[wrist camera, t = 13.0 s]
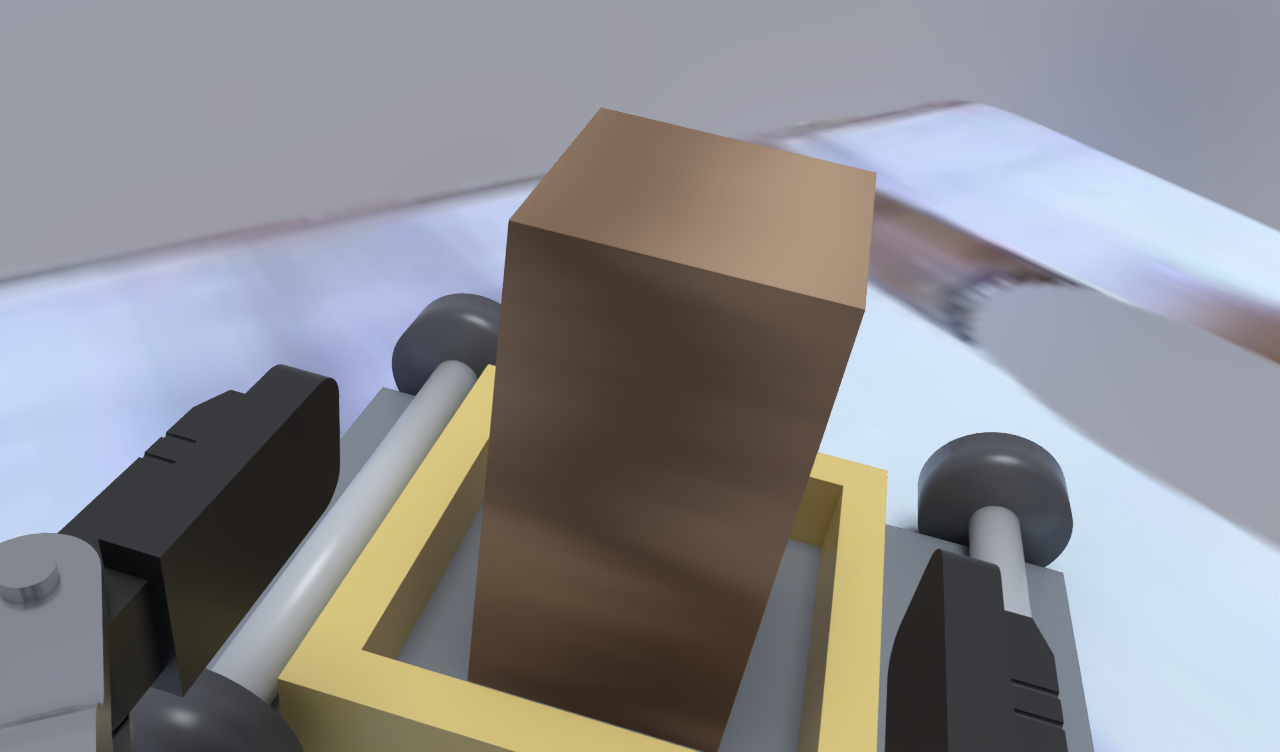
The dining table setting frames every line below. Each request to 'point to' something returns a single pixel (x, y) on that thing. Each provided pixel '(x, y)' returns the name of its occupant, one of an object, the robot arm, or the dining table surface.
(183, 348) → the dining table surface
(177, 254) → the dining table surface
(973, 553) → the chassis
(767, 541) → the brown wooden block
